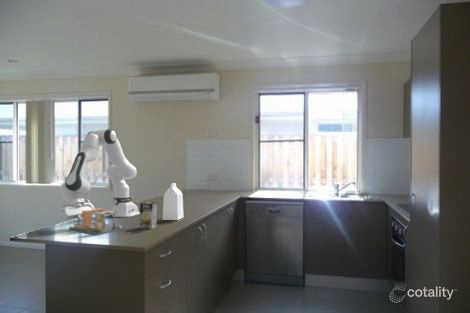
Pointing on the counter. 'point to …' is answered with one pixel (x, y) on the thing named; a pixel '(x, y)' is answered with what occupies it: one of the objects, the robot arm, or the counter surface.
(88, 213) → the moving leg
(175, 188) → the milk
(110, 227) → the hole plate
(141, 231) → the counter surface
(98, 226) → the fixed leg
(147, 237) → the counter surface
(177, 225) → the counter surface
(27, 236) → the counter surface
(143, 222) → the coffee box
